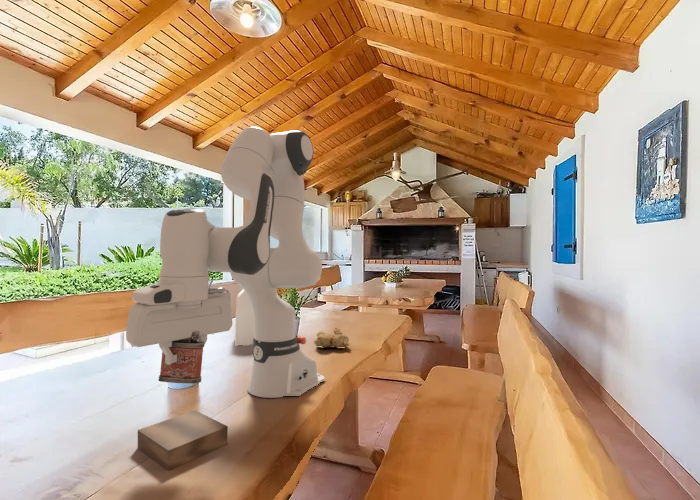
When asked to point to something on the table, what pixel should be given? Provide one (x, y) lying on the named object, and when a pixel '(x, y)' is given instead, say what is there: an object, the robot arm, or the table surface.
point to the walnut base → (182, 438)
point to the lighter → (184, 361)
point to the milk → (244, 320)
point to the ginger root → (332, 339)
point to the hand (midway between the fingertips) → (183, 360)
